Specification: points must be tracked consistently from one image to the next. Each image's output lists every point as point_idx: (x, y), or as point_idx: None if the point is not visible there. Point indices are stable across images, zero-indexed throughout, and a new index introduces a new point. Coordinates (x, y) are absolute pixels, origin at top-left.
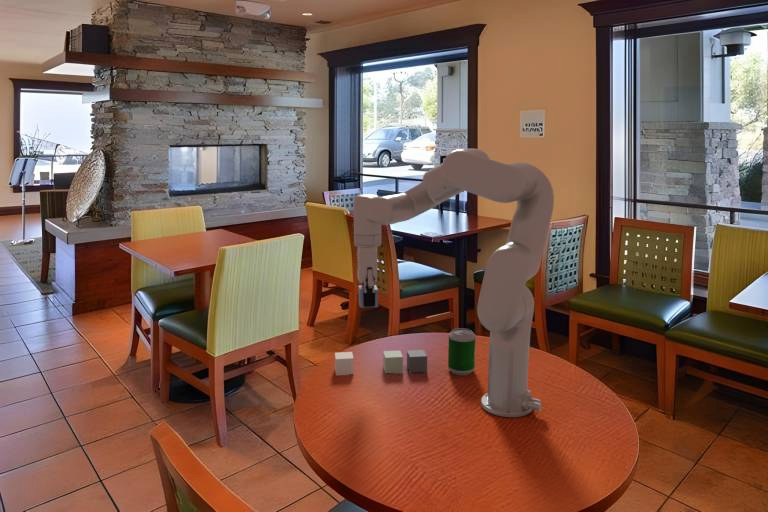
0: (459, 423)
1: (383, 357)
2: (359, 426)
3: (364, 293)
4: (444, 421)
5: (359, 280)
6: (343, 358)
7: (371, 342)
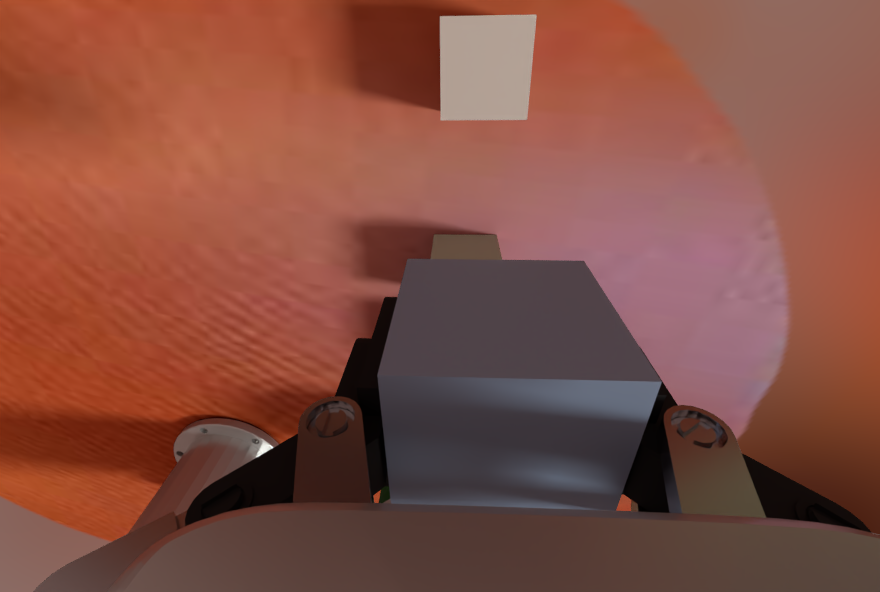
0: (130, 359)
1: (489, 251)
2: (22, 99)
3: (357, 392)
4: (131, 333)
5: (169, 551)
6: (444, 64)
7: (771, 222)
